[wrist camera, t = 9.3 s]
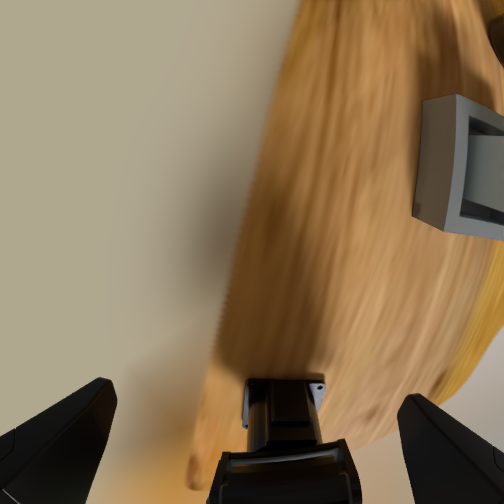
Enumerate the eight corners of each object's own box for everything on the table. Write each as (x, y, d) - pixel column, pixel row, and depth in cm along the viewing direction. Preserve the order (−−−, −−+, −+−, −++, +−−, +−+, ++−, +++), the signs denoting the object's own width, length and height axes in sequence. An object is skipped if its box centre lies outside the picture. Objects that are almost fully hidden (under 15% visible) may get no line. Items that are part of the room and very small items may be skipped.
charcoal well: (487, 229, 18) (518, 243, 14) (411, 216, 18) (443, 231, 14) (497, 131, 15) (531, 133, 11) (422, 101, 15) (456, 93, 11)
